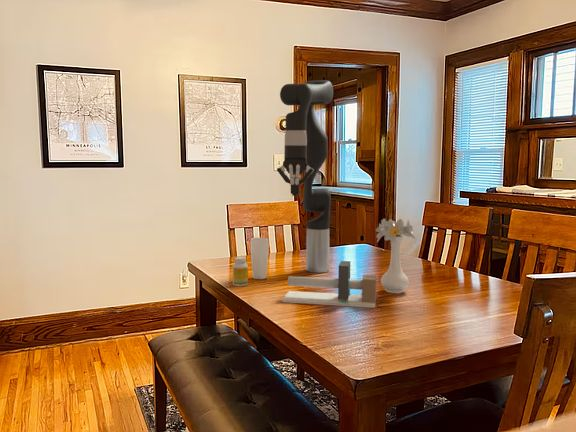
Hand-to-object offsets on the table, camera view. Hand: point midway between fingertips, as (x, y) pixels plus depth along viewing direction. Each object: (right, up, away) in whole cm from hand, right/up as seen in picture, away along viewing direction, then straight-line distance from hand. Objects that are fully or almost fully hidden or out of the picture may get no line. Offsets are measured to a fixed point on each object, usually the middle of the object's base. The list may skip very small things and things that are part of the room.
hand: (295, 195), depth 170 cm
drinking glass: (-13, -31, +17) cm, 38 cm away
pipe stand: (+11, -34, -13) cm, 38 cm away
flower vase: (+33, -33, 0) cm, 47 cm away
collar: (+15, -32, -14) cm, 38 cm away
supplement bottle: (-19, -32, +7) cm, 38 cm away
